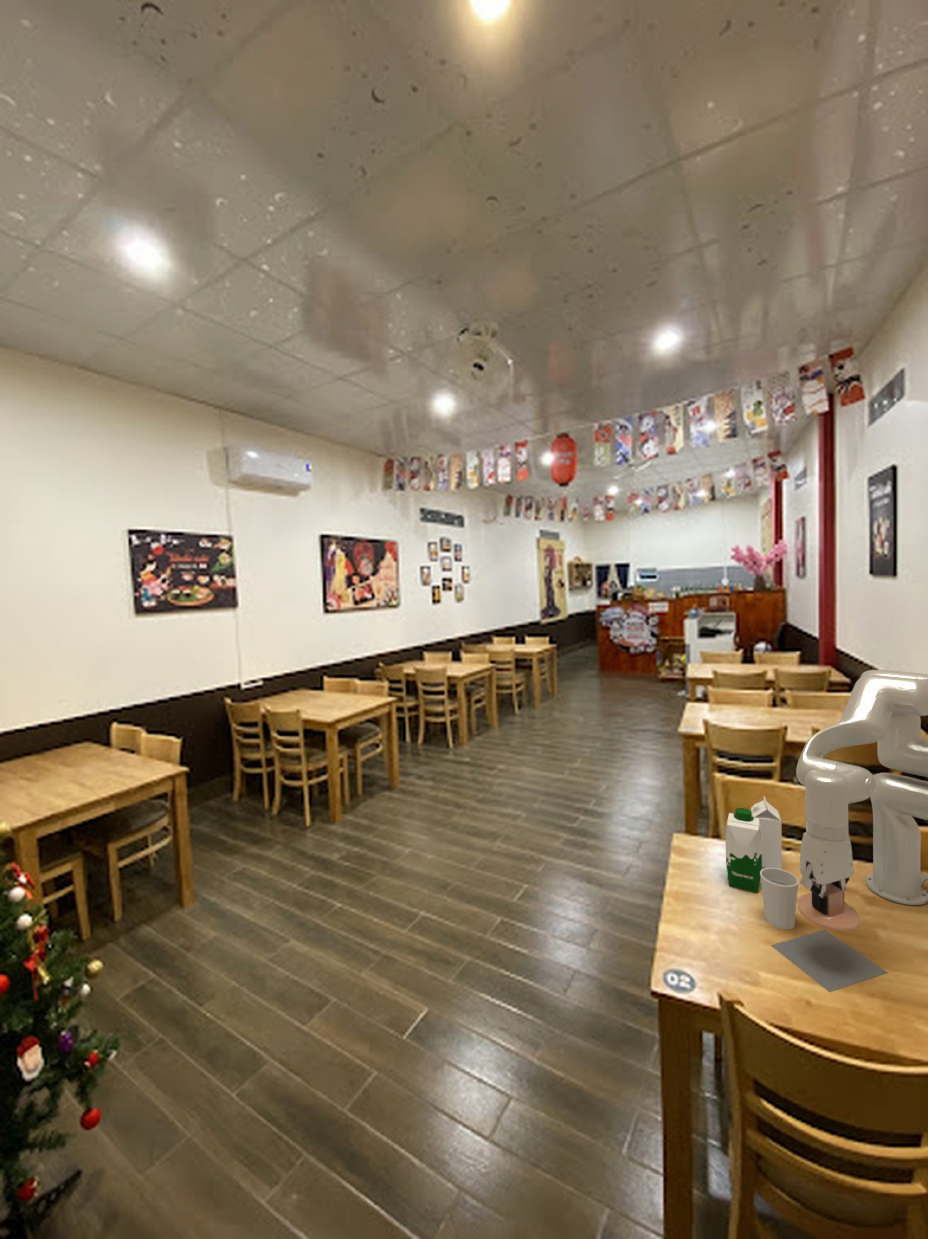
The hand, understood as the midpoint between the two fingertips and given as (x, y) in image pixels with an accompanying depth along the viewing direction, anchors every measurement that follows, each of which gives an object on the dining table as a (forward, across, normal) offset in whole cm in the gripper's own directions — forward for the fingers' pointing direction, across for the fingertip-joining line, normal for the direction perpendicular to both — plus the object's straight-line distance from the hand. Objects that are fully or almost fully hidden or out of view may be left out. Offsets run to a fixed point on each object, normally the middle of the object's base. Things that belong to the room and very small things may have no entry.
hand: (827, 907), depth 110 cm
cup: (+13, 0, -13) cm, 18 cm away
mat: (+12, +1, 0) cm, 12 cm away
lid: (+1, 0, 0) cm, 1 cm away
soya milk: (+13, -5, -29) cm, 32 cm away
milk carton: (+13, -19, -35) cm, 42 cm away
